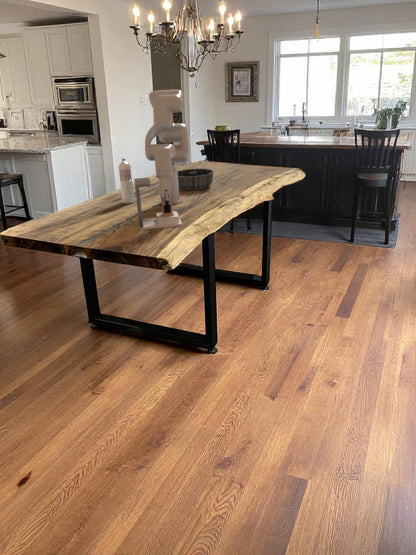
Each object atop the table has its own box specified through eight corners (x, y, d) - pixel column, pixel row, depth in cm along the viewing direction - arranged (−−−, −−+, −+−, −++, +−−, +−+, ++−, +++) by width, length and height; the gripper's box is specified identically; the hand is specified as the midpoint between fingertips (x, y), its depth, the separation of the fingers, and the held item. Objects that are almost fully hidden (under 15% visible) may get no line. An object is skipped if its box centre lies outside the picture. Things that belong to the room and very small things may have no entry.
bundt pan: (167, 192, 289) (165, 176, 285) (181, 183, 312) (180, 168, 308) (207, 193, 282) (206, 176, 278) (219, 183, 305) (218, 168, 301)
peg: (162, 215, 227) (161, 196, 224) (171, 214, 228) (170, 196, 225) (163, 217, 223) (161, 199, 220) (172, 216, 224) (171, 198, 221)
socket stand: (138, 221, 232) (137, 213, 230) (178, 217, 235) (177, 209, 233) (140, 229, 218) (139, 221, 217) (182, 225, 221) (181, 217, 220)
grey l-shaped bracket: (138, 219, 232) (134, 178, 224) (152, 217, 233) (148, 177, 225) (139, 227, 218) (135, 184, 210) (154, 226, 219) (150, 183, 211)
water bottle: (123, 204, 264) (118, 160, 254) (122, 202, 270) (116, 158, 260) (135, 203, 266) (130, 159, 256) (133, 200, 272) (129, 157, 262)
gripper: (154, 171, 225) (158, 208, 232) (157, 177, 210) (160, 216, 217) (170, 169, 226) (172, 206, 233) (173, 176, 211) (176, 215, 218)
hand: (167, 211), depth 225 cm, fingers closed on peg, 4 cm apart
